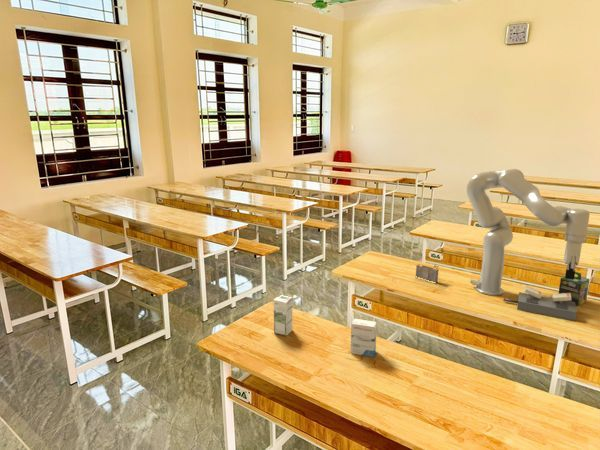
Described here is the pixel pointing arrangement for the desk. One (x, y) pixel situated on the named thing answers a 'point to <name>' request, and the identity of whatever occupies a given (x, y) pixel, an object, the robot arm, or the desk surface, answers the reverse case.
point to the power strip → (546, 306)
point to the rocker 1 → (533, 292)
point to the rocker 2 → (562, 297)
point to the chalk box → (575, 288)
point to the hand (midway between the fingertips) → (569, 278)
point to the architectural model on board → (427, 273)
